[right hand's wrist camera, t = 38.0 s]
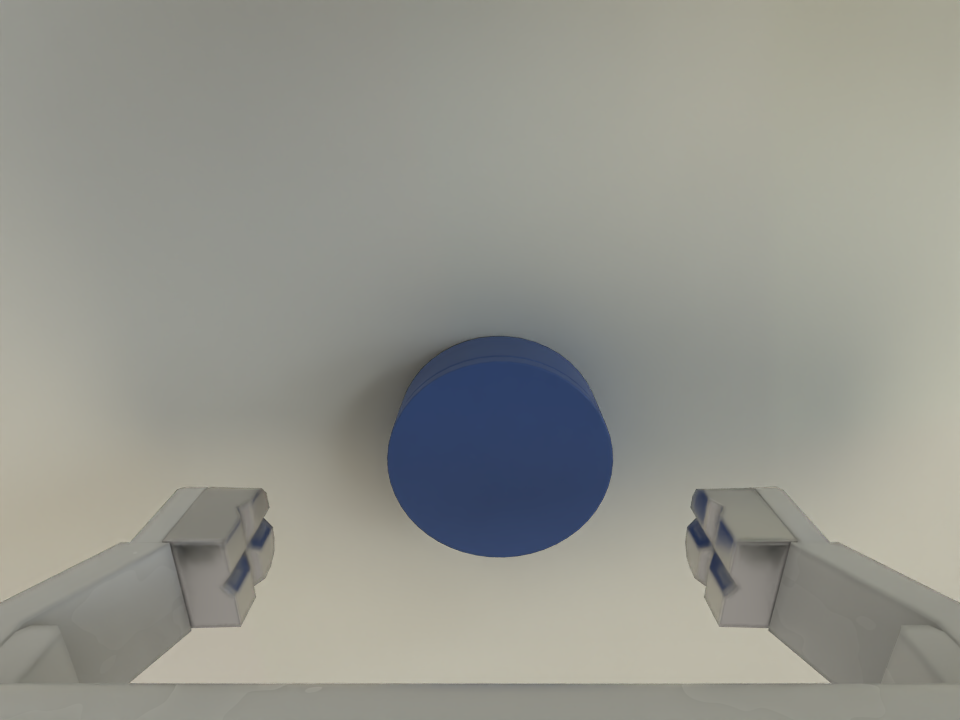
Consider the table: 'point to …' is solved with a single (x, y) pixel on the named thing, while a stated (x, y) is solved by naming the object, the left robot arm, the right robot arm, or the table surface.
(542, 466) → the lid
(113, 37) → the table surface
